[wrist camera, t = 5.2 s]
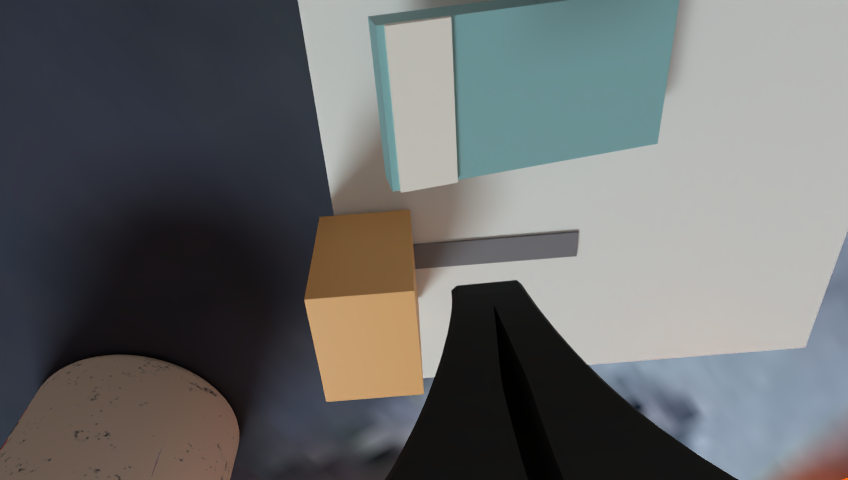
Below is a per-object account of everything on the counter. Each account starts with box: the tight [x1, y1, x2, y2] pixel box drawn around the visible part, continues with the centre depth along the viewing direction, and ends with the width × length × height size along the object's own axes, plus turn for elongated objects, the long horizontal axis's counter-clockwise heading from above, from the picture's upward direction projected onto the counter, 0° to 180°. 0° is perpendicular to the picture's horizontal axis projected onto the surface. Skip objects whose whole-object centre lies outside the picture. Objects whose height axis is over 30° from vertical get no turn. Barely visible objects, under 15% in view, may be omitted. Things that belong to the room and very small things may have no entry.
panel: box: [298, 0, 848, 378], centre depth 19 cm, size 18×24×2 cm
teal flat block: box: [368, 0, 679, 193], centre depth 17 cm, size 8×4×1 cm, turn 94°
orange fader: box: [304, 210, 424, 402], centre depth 20 cm, size 3×4×4 cm
